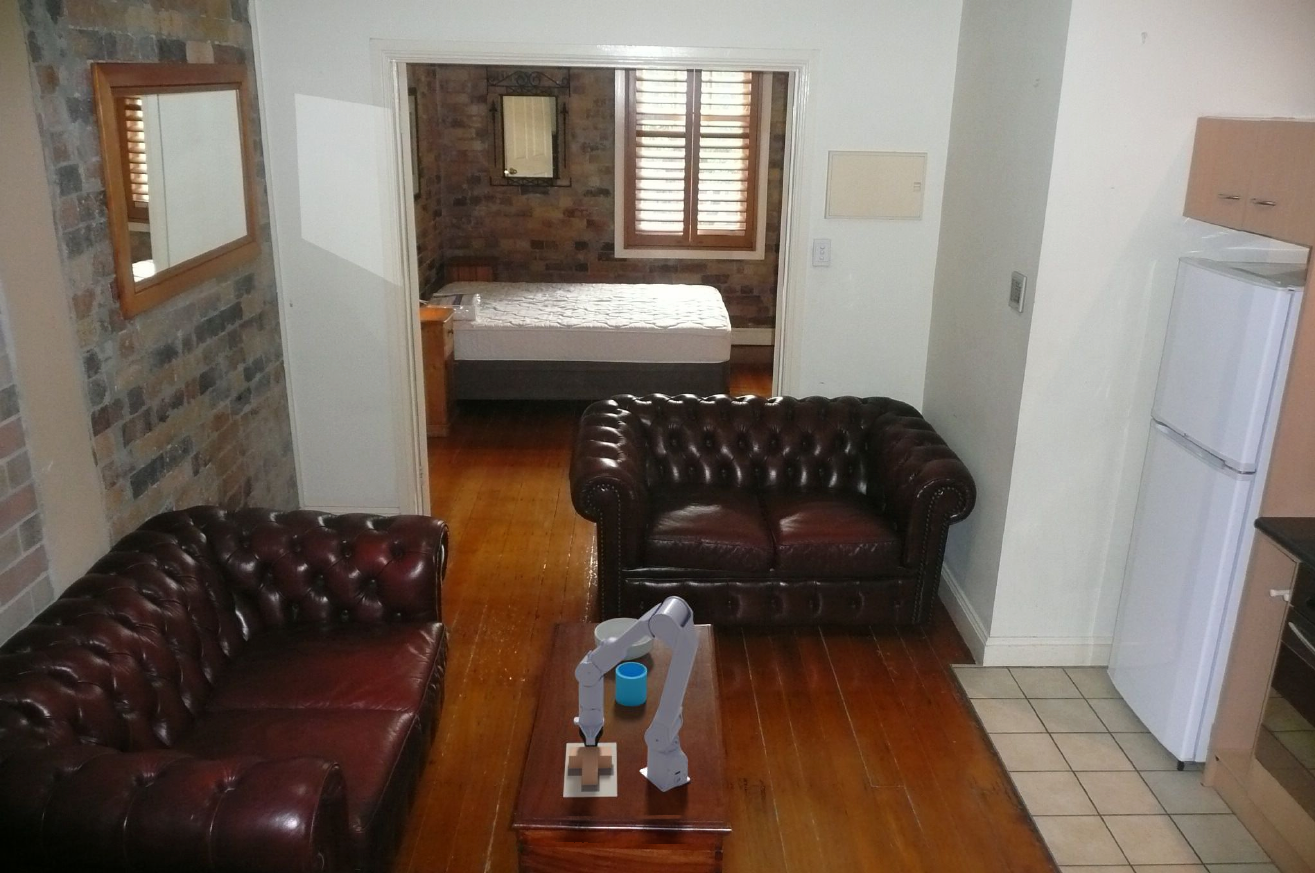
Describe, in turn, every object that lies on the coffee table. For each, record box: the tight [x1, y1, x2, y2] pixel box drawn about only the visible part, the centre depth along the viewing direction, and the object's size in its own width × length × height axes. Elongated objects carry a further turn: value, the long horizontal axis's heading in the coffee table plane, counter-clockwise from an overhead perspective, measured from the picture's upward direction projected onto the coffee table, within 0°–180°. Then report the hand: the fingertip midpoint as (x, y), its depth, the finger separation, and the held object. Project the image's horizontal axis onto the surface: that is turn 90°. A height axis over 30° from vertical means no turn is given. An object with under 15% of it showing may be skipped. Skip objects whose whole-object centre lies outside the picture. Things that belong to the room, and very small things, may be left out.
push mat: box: [563, 742, 618, 798], centre depth 238 cm, size 20×12×1 cm, turn 3°
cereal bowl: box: [594, 617, 655, 662], centre depth 287 cm, size 17×17×7 cm
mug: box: [615, 661, 648, 707], centre depth 268 cm, size 12×8×8 cm
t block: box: [569, 747, 612, 785], centre depth 236 cm, size 10×10×4 cm
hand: (591, 752), depth 242 cm, fingers closed
